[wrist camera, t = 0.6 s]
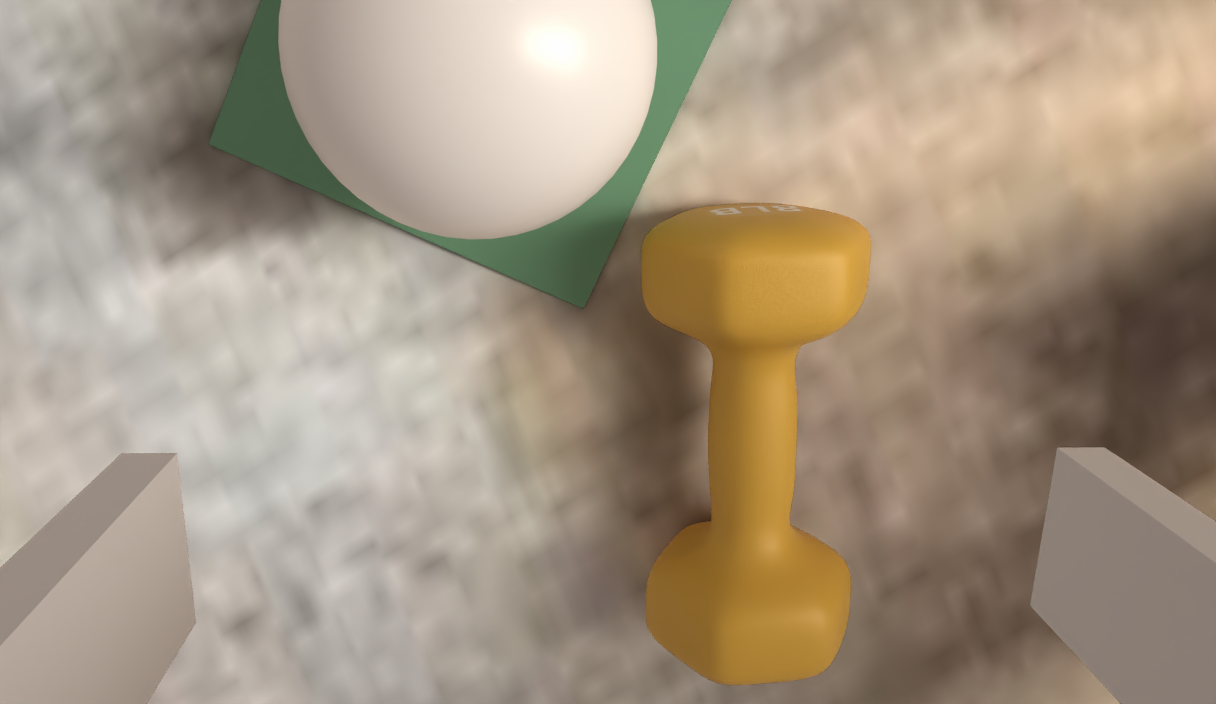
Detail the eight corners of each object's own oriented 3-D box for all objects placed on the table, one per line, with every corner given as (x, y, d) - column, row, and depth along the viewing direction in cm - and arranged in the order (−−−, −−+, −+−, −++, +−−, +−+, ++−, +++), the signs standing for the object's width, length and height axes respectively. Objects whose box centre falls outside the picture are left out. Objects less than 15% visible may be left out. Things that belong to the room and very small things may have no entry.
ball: (685, -22, 37) (765, -58, 25) (554, 257, 39) (573, 339, 28) (390, -180, 34) (330, -299, 23) (272, 130, 37) (165, 164, 25)
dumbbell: (627, 196, 39) (657, 230, 32) (840, 190, 40) (920, 222, 32) (630, 599, 45) (656, 712, 37) (817, 586, 46) (880, 694, 38)
